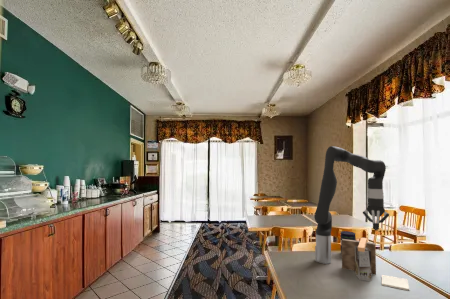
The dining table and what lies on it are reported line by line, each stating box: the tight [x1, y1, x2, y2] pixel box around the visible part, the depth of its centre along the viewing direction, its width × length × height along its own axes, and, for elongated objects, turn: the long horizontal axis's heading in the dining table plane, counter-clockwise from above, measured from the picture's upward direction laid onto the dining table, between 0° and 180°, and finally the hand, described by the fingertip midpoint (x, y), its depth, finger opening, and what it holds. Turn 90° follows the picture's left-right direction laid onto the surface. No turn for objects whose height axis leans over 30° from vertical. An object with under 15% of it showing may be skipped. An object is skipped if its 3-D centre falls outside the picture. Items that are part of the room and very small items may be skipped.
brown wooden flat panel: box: [341, 239, 377, 276], centre depth 162 cm, size 18×3×17 cm, turn 60°
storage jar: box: [340, 230, 357, 255], centre depth 193 cm, size 10×10×15 cm
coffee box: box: [354, 246, 373, 282], centre depth 152 cm, size 9×6×16 cm
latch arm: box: [358, 237, 368, 252], centre depth 153 cm, size 3×24×2 cm, turn 150°
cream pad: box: [381, 274, 410, 291], centre depth 145 cm, size 12×14×1 cm
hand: (376, 230), depth 144 cm, fingers closed
